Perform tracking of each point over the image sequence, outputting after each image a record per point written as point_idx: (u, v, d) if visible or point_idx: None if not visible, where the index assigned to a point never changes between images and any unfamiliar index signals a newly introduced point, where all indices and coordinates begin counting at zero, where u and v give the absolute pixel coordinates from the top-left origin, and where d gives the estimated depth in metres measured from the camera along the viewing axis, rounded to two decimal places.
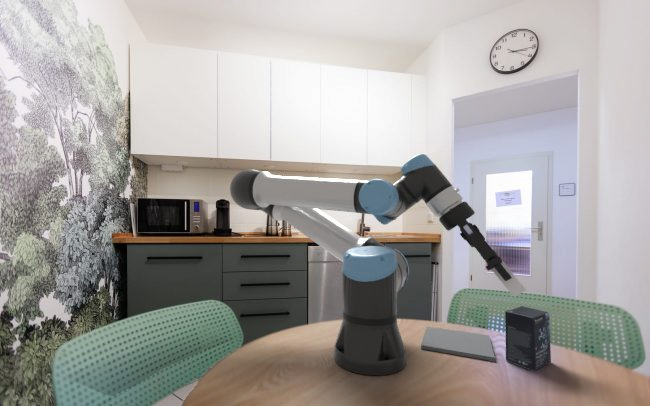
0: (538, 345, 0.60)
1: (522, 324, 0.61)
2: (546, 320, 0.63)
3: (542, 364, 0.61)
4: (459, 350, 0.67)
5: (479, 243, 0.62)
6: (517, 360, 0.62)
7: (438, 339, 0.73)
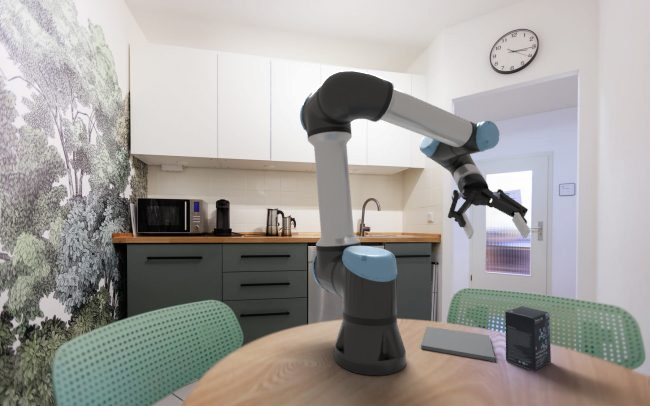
0: (538, 345, 0.60)
1: (522, 324, 0.61)
2: (546, 320, 0.63)
3: (542, 364, 0.61)
4: (459, 350, 0.67)
5: None
6: (517, 360, 0.62)
7: (438, 339, 0.73)
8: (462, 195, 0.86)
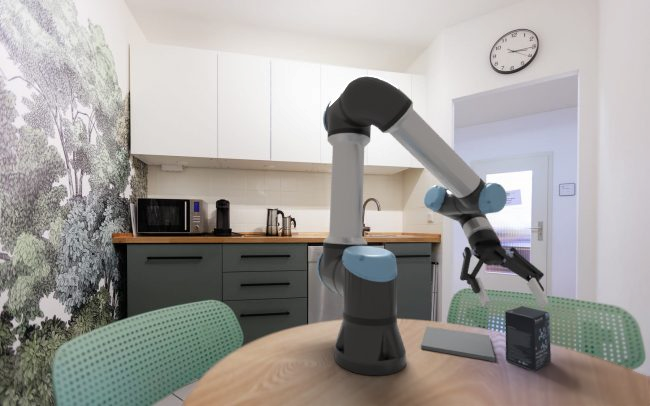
0: (538, 345, 0.60)
1: (522, 324, 0.61)
2: (546, 320, 0.63)
3: (542, 364, 0.61)
4: (459, 350, 0.67)
5: None
6: (517, 360, 0.62)
7: (438, 339, 0.73)
8: (474, 253, 0.81)
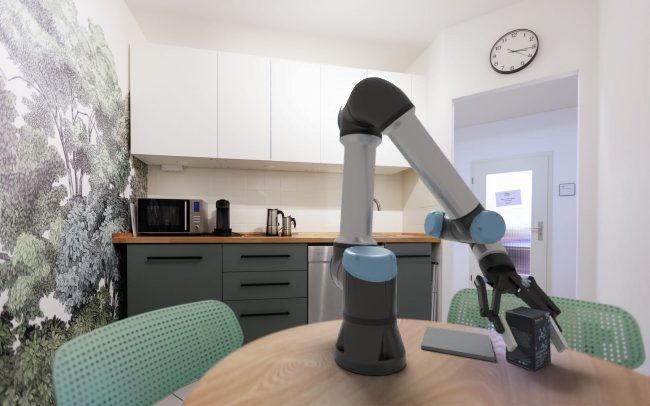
0: (538, 345, 0.60)
1: (522, 324, 0.61)
2: (546, 320, 0.63)
3: (542, 364, 0.61)
4: (459, 350, 0.67)
5: None
6: (517, 360, 0.62)
7: (438, 339, 0.73)
8: (486, 280, 0.72)
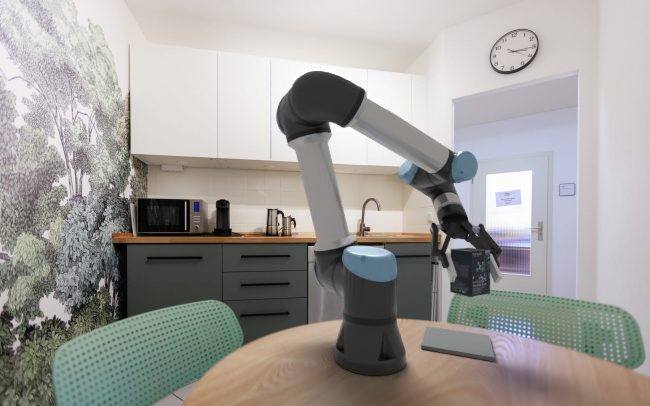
0: (475, 275, 0.68)
1: (463, 258, 0.69)
2: (486, 256, 0.71)
3: (480, 293, 0.69)
4: (459, 350, 0.67)
5: None
6: (458, 290, 0.70)
7: (438, 339, 0.73)
8: (441, 227, 0.81)
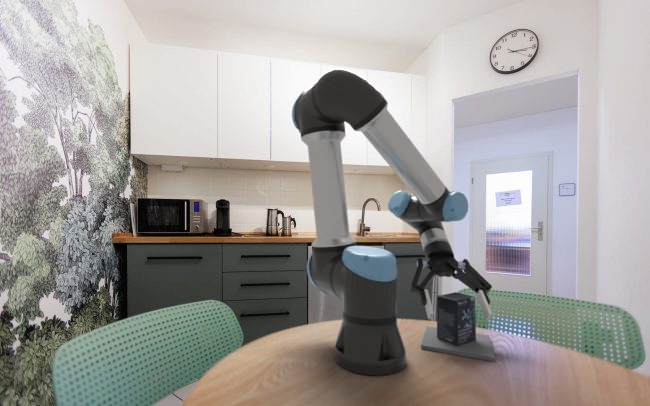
0: (461, 324, 0.70)
1: (449, 306, 0.71)
2: (472, 303, 0.72)
3: (466, 341, 0.70)
4: (459, 350, 0.67)
5: None
6: (445, 337, 0.71)
7: (438, 339, 0.73)
8: (427, 264, 0.82)
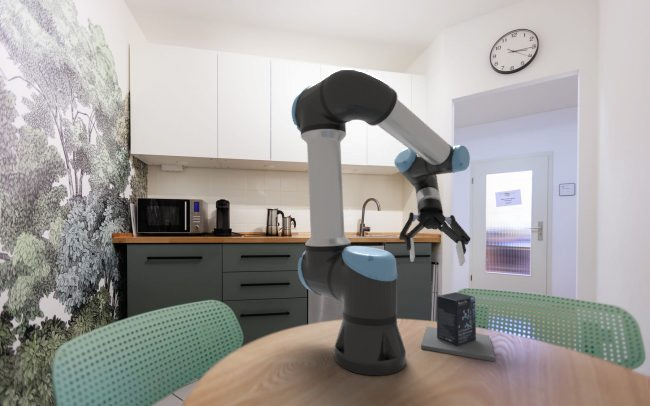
0: (461, 324, 0.70)
1: (449, 306, 0.71)
2: (472, 303, 0.72)
3: (466, 341, 0.70)
4: (459, 350, 0.67)
5: None
6: (445, 337, 0.71)
7: (438, 339, 0.73)
8: (417, 218, 0.95)
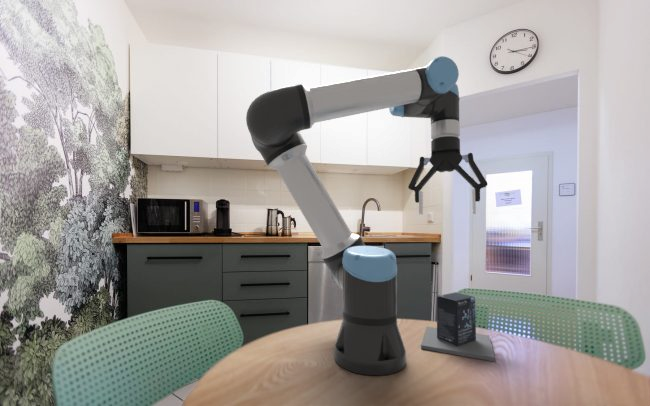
0: (461, 324, 0.70)
1: (449, 306, 0.71)
2: (472, 303, 0.72)
3: (466, 341, 0.70)
4: (459, 350, 0.67)
5: None
6: (445, 337, 0.71)
7: (438, 339, 0.73)
8: (429, 161, 0.85)
